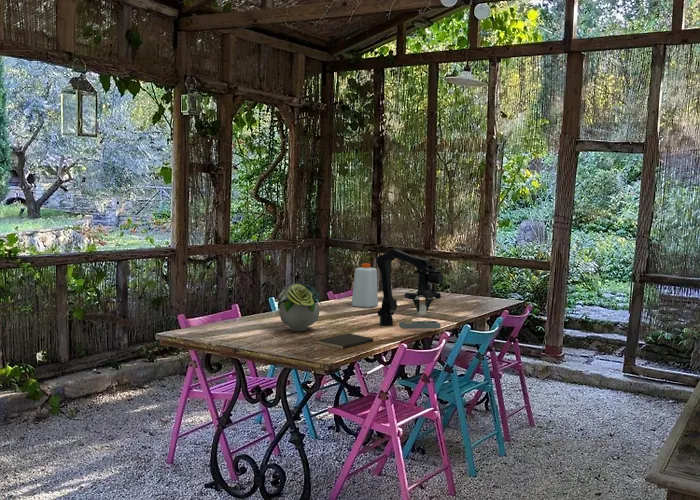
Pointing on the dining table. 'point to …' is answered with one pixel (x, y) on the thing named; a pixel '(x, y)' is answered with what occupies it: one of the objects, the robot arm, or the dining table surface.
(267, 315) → the dining table surface
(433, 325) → the grey long rectangular tray
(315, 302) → the flower arrangement
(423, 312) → the cream egg
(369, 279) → the plastic bottle
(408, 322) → the brown egg
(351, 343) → the hardcover book
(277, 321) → the dining table surface
